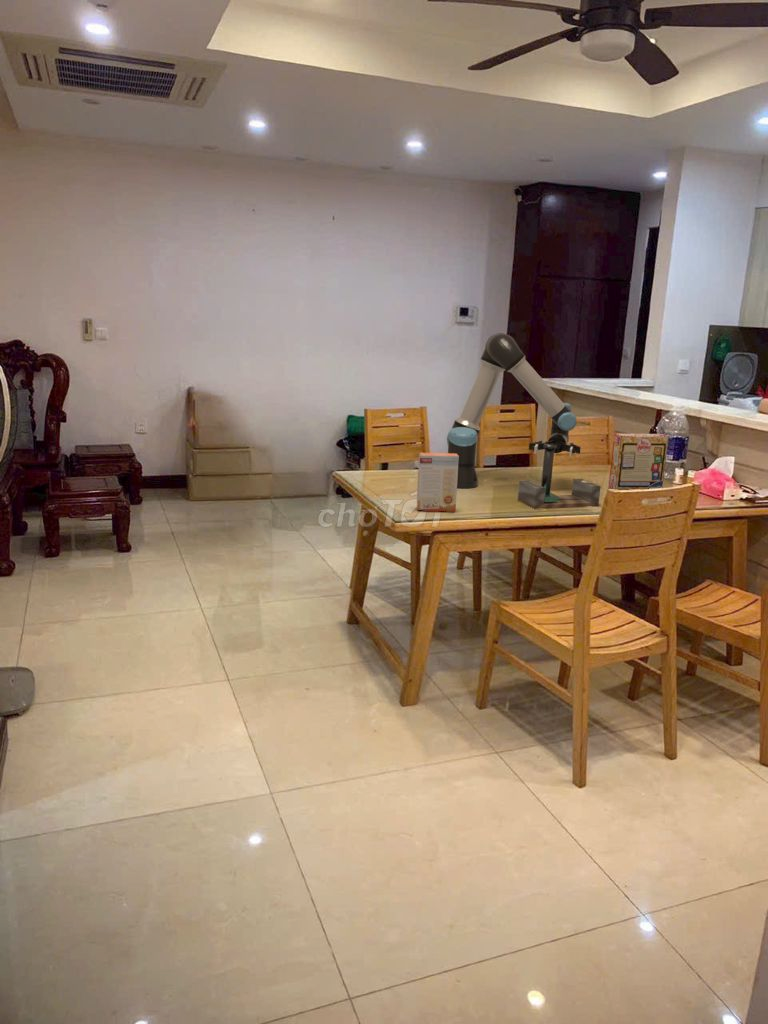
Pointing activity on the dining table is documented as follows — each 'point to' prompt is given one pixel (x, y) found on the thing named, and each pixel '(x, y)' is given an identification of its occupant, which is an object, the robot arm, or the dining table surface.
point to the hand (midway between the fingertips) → (552, 451)
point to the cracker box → (437, 481)
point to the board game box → (638, 461)
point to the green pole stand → (548, 472)
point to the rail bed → (581, 495)
